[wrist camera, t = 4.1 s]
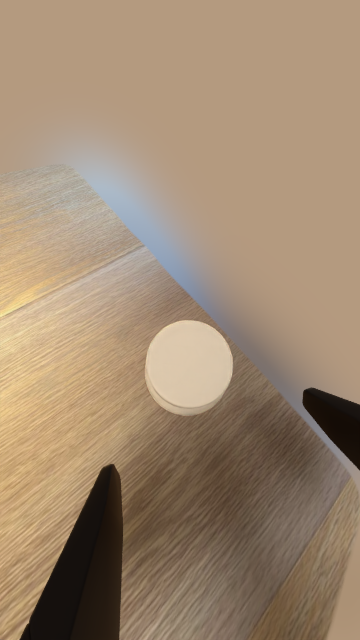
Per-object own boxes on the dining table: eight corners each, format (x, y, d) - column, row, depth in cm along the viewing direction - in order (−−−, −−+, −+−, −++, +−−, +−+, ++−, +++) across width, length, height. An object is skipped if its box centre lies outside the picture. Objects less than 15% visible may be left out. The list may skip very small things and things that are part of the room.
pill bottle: (165, 345, 20) (159, 298, 11) (216, 362, 20) (252, 327, 11) (145, 400, 18) (117, 395, 9) (201, 421, 18) (232, 438, 8)
